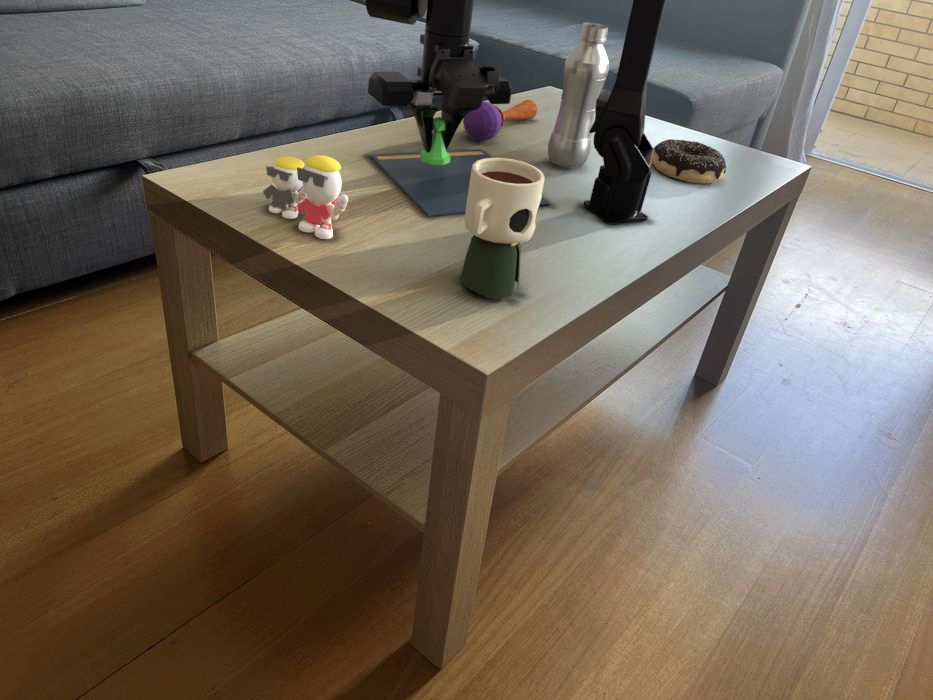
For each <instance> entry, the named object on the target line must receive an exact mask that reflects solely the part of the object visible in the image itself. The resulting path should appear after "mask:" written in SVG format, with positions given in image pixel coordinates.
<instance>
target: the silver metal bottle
mask: <svg viewBox="0 0 933 700" xmlns="http://www.w3.org/2000/svg"><path fill="white" fill-rule="evenodd" d="M608 31H609V27H608V26H606V25H604V24H601V23H596V22H583V23H582V25H581V30H580V33H579V39H580V41H579V43H577V45H576V46H575V47H574V48H573V49H572V50H571V51H570V52H569V53H568V55H567V57H566V59H565V62H564V69H563V70H564V71H563V81H562V82H563V84H562V92H561V98H560V99H561V101H560V105H559V110H558V113H557V116H556V121H555V124H554V128H553V130H552V132H551V134H550V137H549V140H548V143H547V156H548V159H549V162H551V163H553V164H555V165H557V166H559V167H565V168H570V169H573V168H575V169H576V168H580V167H582V166H583V165H584V164H586V163H587V161H588V158H589V156H590V153H591V147H592V133H589V131H590V129H591V127H592V125H593V123H594V121H595V112H596V100H597V98H598V97H599V95H600V93H601V91H602V90H603V89H604V85H605V82H606V80H607V76H608V75H609V71H610V61H609V58H608V54H607V52H606V50H605V46H604V43H606V42H607V40H608V38H607V36H608Z"/></svg>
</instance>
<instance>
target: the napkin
mask: <svg viewBox="0 0 933 700" xmlns="http://www.w3.org/2000/svg"><path fill="white" fill-rule="evenodd" d="M420 152H421V151H420ZM420 152H418V151H417V152H399V153H379V154H378V153H377V154H376V153H375V154H370V158H371V159H372V160H373V161H374V162H375V163H376V165H378V166H379V167H380V168H381V169H382V170H383V171H384V172H385V174H387V175H388V176H389V177H390V179H392V181H394V182H395V184H396V185H397V186H399V188H400V189H401V190H402V191H403V192H404V193H405V194H406V195H407V196H408V197H409V198H410V199H411V200H412V202H414V203H415V205H417V206H418V208H419V209H420V210H421V211H423V212H424V214H425V215H426V216H428V217H434V216H435V217H436V216H447V215H458V214H465V212H466V205H467V197H468V190H469V183H470V176H471V169H472V165H473V164H474V163H475V162H476V161H477V160H481V159H485V158H492V156H491V155H489V154H487V153H486V152H485V151H484V150H483V149H466V150H465V149H464V150H463V149H462V150H446V152H448V153H449V155H450V162H449V163H447V164H445V165H432V164H429V163H426V162H423V161H422V160H421V158H420ZM545 206H547V207H548V206H551V203H550V202H549V201H548V200H546V199H545V198H544V197H541V201H540V204H539V207H545Z"/></svg>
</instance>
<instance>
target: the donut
mask: <svg viewBox="0 0 933 700" xmlns="http://www.w3.org/2000/svg"><path fill="white" fill-rule="evenodd" d="M653 148H654V155H653V159H652V163H651V165H653V166H654V167H655V169H656V170H657V171H659V172H661V173H662V174H663V175H665V176H667V177H670V178H673V179H676V180H680V181H682V182H687V183H691V184H692V183H693V184H703V185H704V184H705V185H706V184H711V183H715V182H718V181H720V180H721V179H723V178H724V175H725V174H726V171H727V163H726V159H725V157H724V156H723V154H722V153H721V152H720V151H719V150H717V149H715V148H713V147H711V146H709V145H707V144H705V143H701V142H699V141H694V140H693V141H692V140H690V141H689V140H685V139H673V138H671V139H665V140H662V141H660V142H658V143H657V144H656V145H655V146H653Z"/></svg>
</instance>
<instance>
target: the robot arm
mask: <svg viewBox="0 0 933 700" xmlns="http://www.w3.org/2000/svg"><path fill="white" fill-rule="evenodd" d="M474 2H475V0H365V8H366V12H367V14H368V16H369V17H371V18H374V19H381V20H386V21H391V22H396V23H400V24H405V25H411V26H414V25H415V24H416V22H417V21H418V19H419V18H420V19H422V18H424V16H425V15H426V16H425V26H424V33H421V34H420V36H419V43H420V44H421V45H423V51H422V61H421V66H417V71H416V75H417V76H418V77H419V78H420V79H409V78H407V77H406V76H404V75H403V74H402V73H400V72H399V71H373V73H372V74H371V75H370V77H369V79H368V85H367V94H368V95H370V96H371V97H372V98H373V99H375V100H376V101H377V102H378V103H379V104H380V105H382V106H385V107H408V106H409V107H410V110H411V113H412V115H413V117H414V120H415V122H416V123H415V124H416V126H417V129H418V133H419V136H420V139H421V142H422V145H423V150H425V151H427V153H428V152H430V150H431V146H432V134H433V132H434V130H433V119H434V118H435V115H436V113H437V112H438V109H439V108H438V107H437V106H436V105H434V103H433V102H434V96H442V100H441V116H440V118H442V119H443V120H445V121H446V130H444V131H441V133H442V137H443V140H444V144H445V148H446V151H448V148H449V146H450V144H451V142H452V140H453V138H454V136H455V134H456V132H457V130H458V128H459V126H460V125H461V124H462V122H463V120H464V117H465V116H466V115H467V114H468V113H470V112H471V111H473V110H478V109H479V108H480V107H481V105H482V102H483V101H484V98H486V99H487V102H489V103H491V104H493V105H509V104H511V99H512V93H513V88H512V85H511V83H510V81H509V80H507V79H506V78H504V77H503V76H501V71H500V69H499V68H498V66H497V65H494V64H492V65H491V64H490V65H489V64H488V65H487V64H486V65H485V64H484V65H475V61H474V53H475V52H474V51H475V50H474V45H472V44H470V37H471V27H472V20H473V13H474V5H475V4H474ZM666 3H667V0H633V1H632V5H631V9H630V15H629V18H628V23H627V27H626V33H625V38H624V41H623V45H622V51H621V55H620V60H619V65H618V69H617V74H616V77H615V78H616V79H615V82H614V85H613V87H612V90H611V91H610V90H608V89H606V88H602V91H601V93H600V95H599V97H598V98H597V100H596V111H595V114H594V120H593V125H592V127H591V129H590V131H589V133H591V134H593V133H594V134H593V147H594V149H595V151H596V152H597V154H598V155H599V156H600V157H601V158H602V160H603V161H602V162H603V165H600V167H599V171H598V174H597V177H595V179H594V183H593V187H592V191H591V195H590V199H588V200H583V206H584V207H586V208H587V209H588V210H590V211H591V212H592V213H594V214H595V215H597V216H598V217H599V218H601V219H602V220H603V221H605V222H606V223H607V224H610V225H617V224H624V223H625V224H626V223H634V222H645V221H648V218H649V216H648V215H647V214H645V213H644V212H643V211H642V208H643V205H644V202H645V199H646V194H647V191H648V187H649V184H650V181H651V177H652V174H653V172H652V171H651V167H652V159H653V155H654V145H652V143H651V142H650V140H649V138H648V137H647V135H646V134H645V125H646V124H645V122H646V109H647V84H648V78H649V73H650V70H651V64H652V61H653V57H654V52H655V48H656V44H657V39H658V36H659V32H660V28H661V23H662V20H663V15H664V11H665V7H666Z"/></svg>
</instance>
